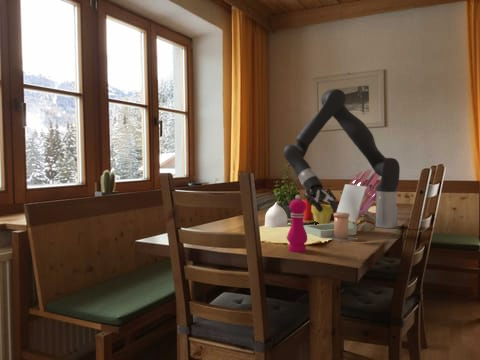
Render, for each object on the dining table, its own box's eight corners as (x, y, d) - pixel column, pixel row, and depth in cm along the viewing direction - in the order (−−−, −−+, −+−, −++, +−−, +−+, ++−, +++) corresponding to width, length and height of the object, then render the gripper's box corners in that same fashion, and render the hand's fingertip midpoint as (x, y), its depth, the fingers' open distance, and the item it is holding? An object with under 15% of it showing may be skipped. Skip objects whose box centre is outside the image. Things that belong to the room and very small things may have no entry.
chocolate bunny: (376, 233, 187) (377, 211, 186) (358, 232, 188) (358, 210, 187) (375, 231, 192) (376, 209, 191) (357, 230, 193) (358, 209, 193)
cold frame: (345, 229, 195) (346, 184, 194) (365, 235, 182) (366, 186, 181) (302, 233, 186) (302, 185, 184) (320, 239, 173) (321, 187, 172)
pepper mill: (285, 247, 157) (286, 194, 155) (304, 247, 157) (305, 194, 156) (289, 252, 149) (290, 196, 148) (309, 252, 150) (310, 196, 149)
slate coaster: (344, 237, 177) (344, 235, 177) (358, 241, 169) (358, 239, 169) (326, 239, 173) (326, 236, 173) (339, 243, 165) (339, 240, 165)
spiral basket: (409, 181, 242) (368, 154, 247) (406, 197, 218) (361, 167, 222) (379, 217, 255) (341, 190, 260) (374, 235, 230) (332, 206, 235)
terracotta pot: (342, 236, 175) (343, 212, 175) (352, 238, 170) (352, 214, 169) (330, 237, 173) (330, 212, 172) (339, 239, 167) (339, 214, 166)
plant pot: (332, 227, 200) (333, 207, 200) (310, 227, 202) (311, 206, 202) (332, 224, 211) (332, 204, 210) (311, 223, 213) (311, 204, 212)
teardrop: (292, 226, 204) (292, 201, 203) (274, 228, 198) (274, 203, 197) (277, 223, 213) (277, 199, 212) (260, 225, 207) (260, 200, 206)
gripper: (302, 175, 179) (321, 205, 170) (326, 175, 187) (345, 203, 178) (293, 187, 184) (311, 217, 175) (317, 186, 192) (335, 214, 183)
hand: (328, 210), depth 177 cm, fingers open, 8 cm apart
